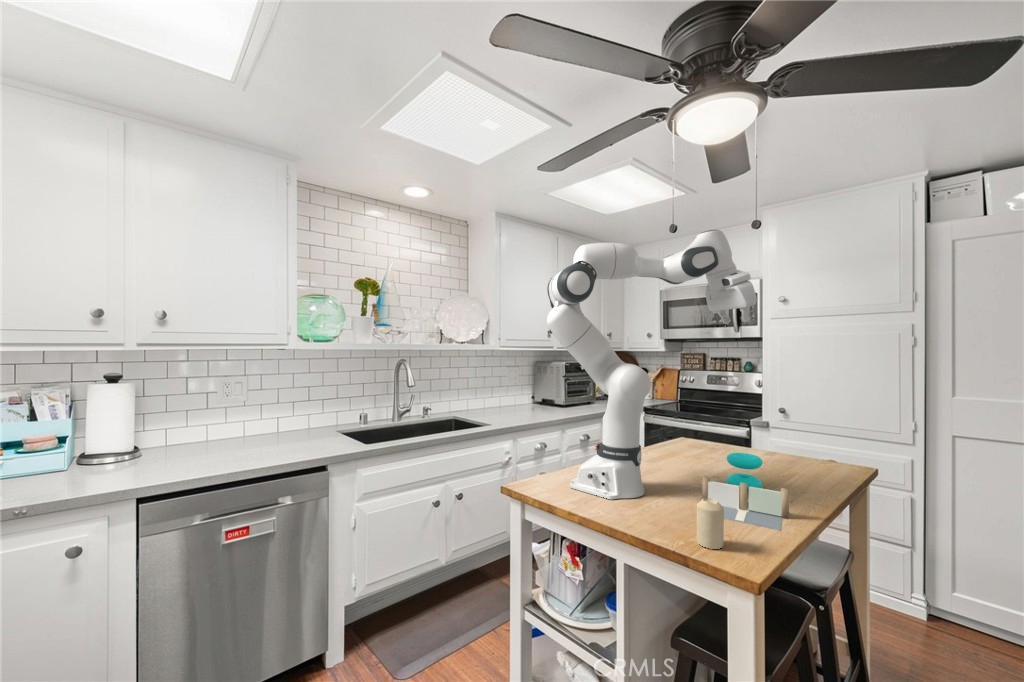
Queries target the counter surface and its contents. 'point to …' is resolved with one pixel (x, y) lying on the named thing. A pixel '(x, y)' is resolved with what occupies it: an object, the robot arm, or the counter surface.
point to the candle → (710, 523)
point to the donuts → (744, 463)
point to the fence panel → (769, 501)
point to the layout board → (753, 517)
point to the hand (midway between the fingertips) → (736, 322)
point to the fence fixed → (725, 493)
